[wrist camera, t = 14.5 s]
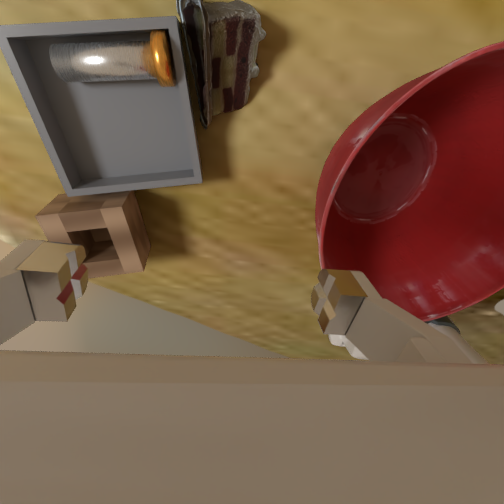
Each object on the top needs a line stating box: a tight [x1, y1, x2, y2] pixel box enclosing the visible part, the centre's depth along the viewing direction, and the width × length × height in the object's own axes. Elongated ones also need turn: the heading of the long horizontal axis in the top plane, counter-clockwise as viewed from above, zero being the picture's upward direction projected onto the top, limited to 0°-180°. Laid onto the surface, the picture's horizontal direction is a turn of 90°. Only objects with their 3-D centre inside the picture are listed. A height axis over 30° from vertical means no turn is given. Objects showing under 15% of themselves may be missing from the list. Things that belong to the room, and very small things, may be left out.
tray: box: [0, 16, 203, 197], centre depth 30 cm, size 15×15×4 cm
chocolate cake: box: [176, 0, 266, 130], centre depth 29 cm, size 10×7×12 cm
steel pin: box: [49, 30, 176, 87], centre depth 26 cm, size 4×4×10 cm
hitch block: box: [35, 190, 151, 278], centre depth 36 cm, size 9×9×6 cm
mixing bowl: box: [315, 41, 504, 322], centre depth 33 cm, size 28×28×16 cm
